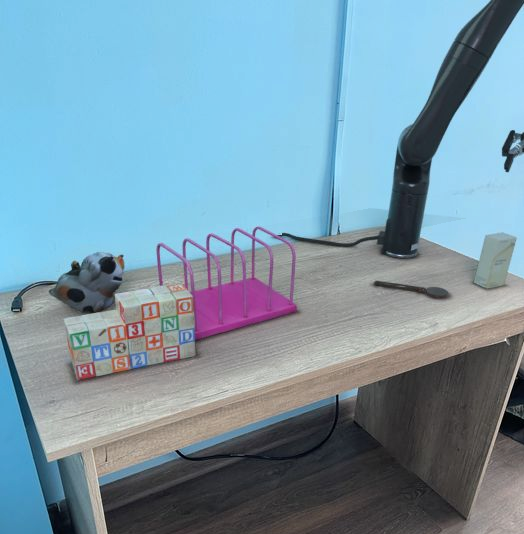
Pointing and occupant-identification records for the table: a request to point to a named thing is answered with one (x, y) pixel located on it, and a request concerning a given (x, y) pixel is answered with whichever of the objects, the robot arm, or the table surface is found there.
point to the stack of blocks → (133, 332)
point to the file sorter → (233, 291)
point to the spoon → (416, 289)
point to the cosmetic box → (495, 260)
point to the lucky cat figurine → (90, 282)
